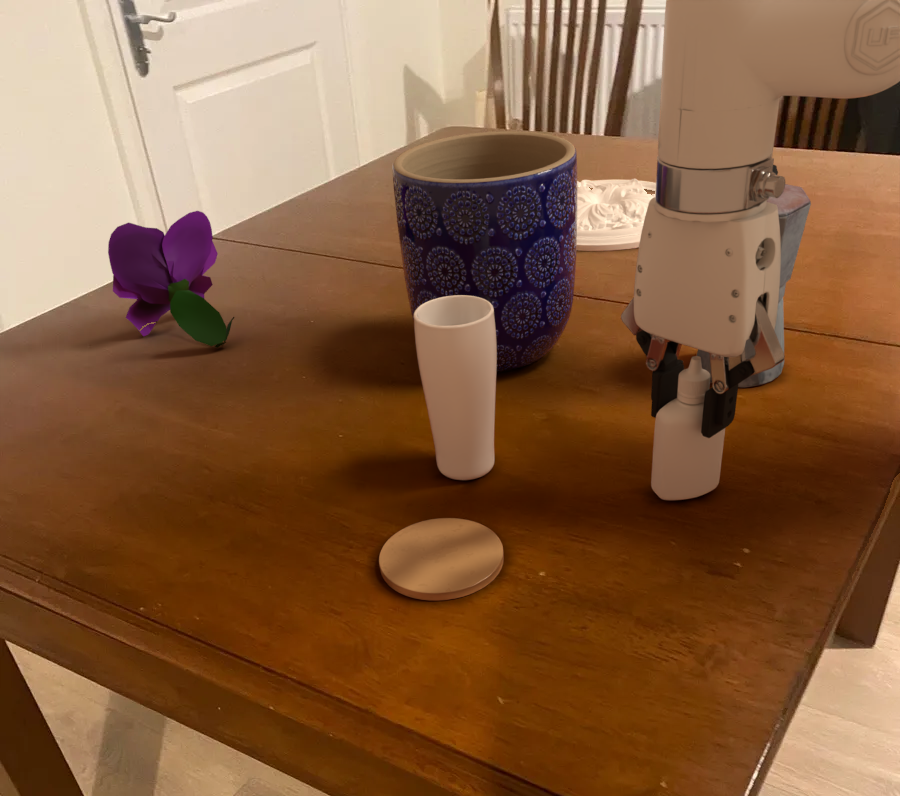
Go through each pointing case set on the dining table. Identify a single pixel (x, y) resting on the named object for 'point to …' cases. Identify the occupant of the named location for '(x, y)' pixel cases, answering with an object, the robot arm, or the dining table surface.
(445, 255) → the planter
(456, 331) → the drinking glass
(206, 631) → the dining table surface
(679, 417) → the eye dropper bottle
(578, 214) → the ceiling medallion
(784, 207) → the moka pot
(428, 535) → the cork trivet
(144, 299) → the flower
